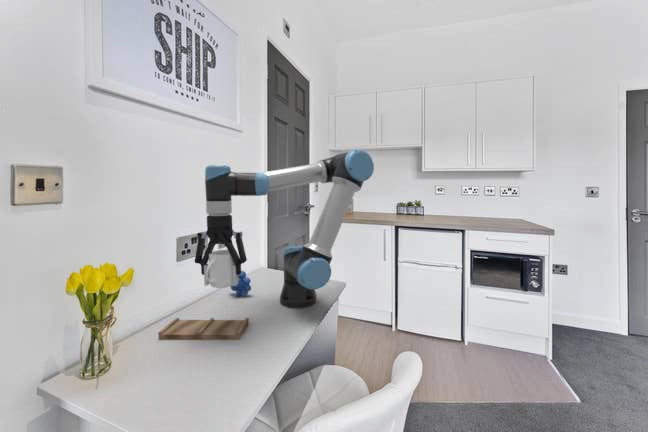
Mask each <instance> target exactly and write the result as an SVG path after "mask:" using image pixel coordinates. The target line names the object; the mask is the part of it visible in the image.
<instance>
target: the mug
mask: <svg viewBox="0 0 648 432" xmlns="http://www.w3.org/2000/svg"><path fill="white" fill-rule="evenodd" d="M236 252H237V253H238V250H236ZM207 264H208V266H207V280H208V282H209V283H210V284H209V285H210V287H212V288H217V289H223V288H224V289H225V288H231V286H233V265H235V263H234V261H233V259H232V257H231V255H230V253H229V251H228V249H219V250H218V249H217V250H213V251H212V253H211V254H209V260H208V263H207ZM208 272H209V277H208Z"/></svg>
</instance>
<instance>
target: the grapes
mask: <svg viewBox="0 0 648 432" xmlns="http://www.w3.org/2000/svg"><path fill="white" fill-rule="evenodd" d="M238 279H239V283H238V284H237V285H236V286H230V290H231V291H232V292H233V291H234V292H235V294H236V295H237V296H242V295H243V297H245V296H247V295H248V294H249V292H250V291H251V290H252V286H251V285H250V284H251V278H249V277H248V276H247V273H246V271H244V270H241V274H240V275H238Z"/></svg>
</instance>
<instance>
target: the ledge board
mask: <svg viewBox="0 0 648 432" xmlns="http://www.w3.org/2000/svg"><path fill="white" fill-rule="evenodd" d="M249 318H250V317H245V319H215V318H214V317H210V318H209V319H180V317H175V319H173V320H172V321H170V323H168V324H167V325H166V326H165V327H164V328H162V329H161V330H160V331H158V340H240V339H241V337H242V336H243V334H244V332H245V331H246V329H247V328H248V327H249V324H250V321H249Z"/></svg>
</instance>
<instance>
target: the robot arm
mask: <svg viewBox="0 0 648 432" xmlns="http://www.w3.org/2000/svg"><path fill="white" fill-rule="evenodd" d="M374 170H375V166H374V161H373V159H372V157H371V155H370V154H369V153H368V152H367V151H366V150H363V149H351V150H349V151H346V152H343V153H338V154H336V155H334V156H331V157H328V158H324V159H320V160H319V159H318V160H317V162H316V163H311V164H305V165H299V166H298V165H297V166H292V167H286V168H281V169H274V170H268V171H261V172H235V171H232V170H231V167H230V166H229V165H226V164H225V165H223V164H210V165H207V166H206V167H205V170H204V171H205V172H204V176H205V177H204V181H205V182H204V183H205V201H206V202H205V205H206V209H205V210H206V211H205V212H206V214H207V215H206V227H207V228H206V231H200V232H198V233H197V234H196V235H197V236H196V237H197V245H196V246H197V247H196V251H195V257H194V263H195V264H199V265H200V270H201V272H200V273H201V275H203V277H204V280H203V281H204V286H205V287H207V286H209V285H210V283H209V282H208V280H207V266H208V264H209V254H211V253H212V251H214V249H215V246H216V245H218V244H219V245H224V246H225V248H226V250H228V251H229V253H230V255H231V257H232V259H233V261H234V263H235V265H233V286H236V285H237V284H238V283H239V279H238V275H240V274H241V271H242V265H243V264H245V263H246V262H247V261H248V258H247V255H246V250H245V246H244V242H243V231H234V229H233V216H232V213H233V212H232V211H233V209H232V205H233V203H232V196H234V197H235V196H236V197H237V196H238V197H240V196H241V197H246V196H247V197H251V196H254V197H255V196H256V197H261V196H267V195H268V194H269V192H273V191H277V190H283V189H288V188H292V187H298V186H299V187H300V186H303V185H309V184H315V183H320V184H328V183H332V184H333V185H332V188H331V190H330V193H329V194H328V197H327V199H326V202H325V204H324V207H323V208H322V211H321V214H320V216H319V219H318V221H317V223H316V226H315V228H314V230H313V233H312V235H311V237H310V240H309V242H307V243H305V244H303V245H292V246H287V247H284V249H283V254H282V256H283V285H282V289H281V293H280V296H279V302H280V305H282V306H284V307H287V308H290V309H291V308H292V309H301V308H302V309H303V308H306V307H307V308H308V307H310V306H312V305H315V303H317V293H316V290H319V289H321V288H322V287H325V286H326V285H327V284H328V282H329V281H330V279H331V277H332V276H331V275H332V269H331V265H330V264H331V262H332V259H333V255H332V248H333V246H334V245H335V244H334V243H335V241H336V239H337V236H338V234H339V232H340V229H341V227H342V224H343V222H344V220H345V217H346V215H347V213H348V210H349V207H350V205H351V202H352V200H353V197H354V195H355V194H356V193H357V192H359V191H361V189H362V186H363V184H364V182H365V181H367V180H369V179H370V178H371V177H372V175H373V174H374ZM233 236H234V237H233ZM207 237H208V239H209V241H208V244H207V247H206V250H204V249H205V243H206V238H207ZM232 237H233V238H234V239H235V244H236V248H237V250H236V249H235V246H234V243H233V241H232ZM236 251H237V252H236ZM208 277H209V272H208Z"/></svg>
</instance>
